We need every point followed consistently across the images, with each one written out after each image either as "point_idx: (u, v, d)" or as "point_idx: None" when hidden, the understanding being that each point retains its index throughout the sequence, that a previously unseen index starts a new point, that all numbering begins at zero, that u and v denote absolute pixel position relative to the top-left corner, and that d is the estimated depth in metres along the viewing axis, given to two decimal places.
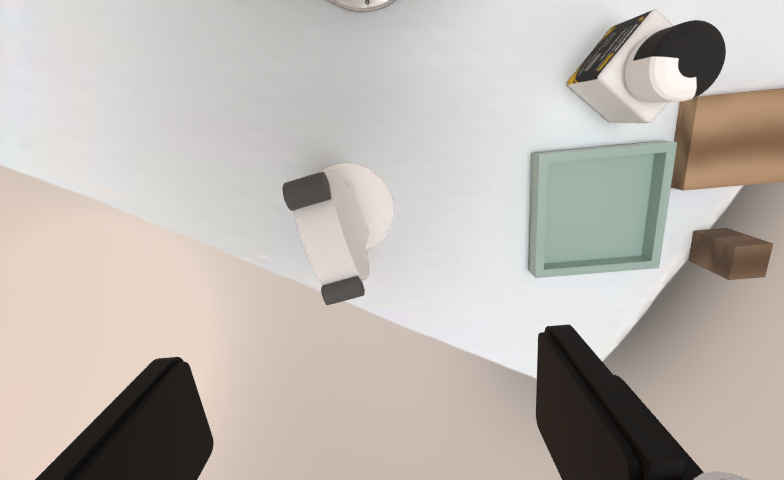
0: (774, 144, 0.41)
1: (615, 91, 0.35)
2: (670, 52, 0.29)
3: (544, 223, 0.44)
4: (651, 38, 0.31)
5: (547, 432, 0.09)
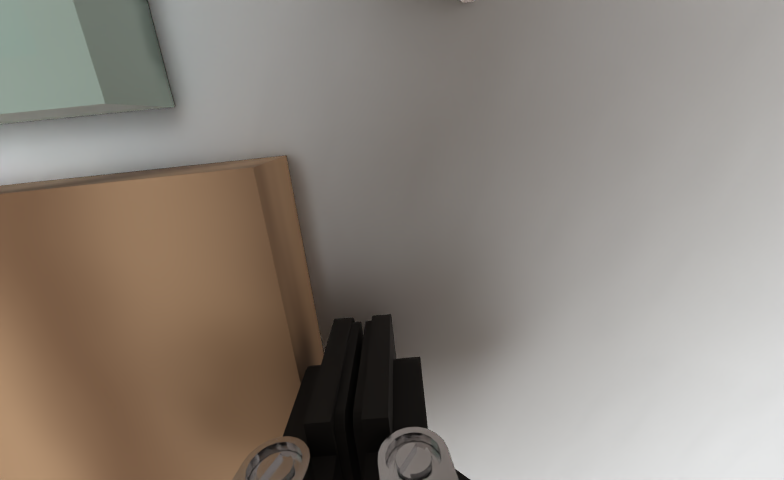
0: None
1: None
2: None
3: None
4: None
5: None
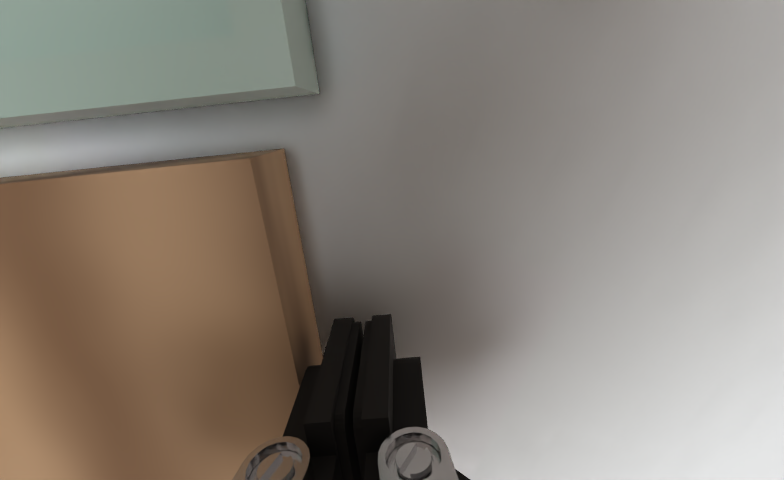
0: None
1: None
2: None
3: None
4: None
5: None
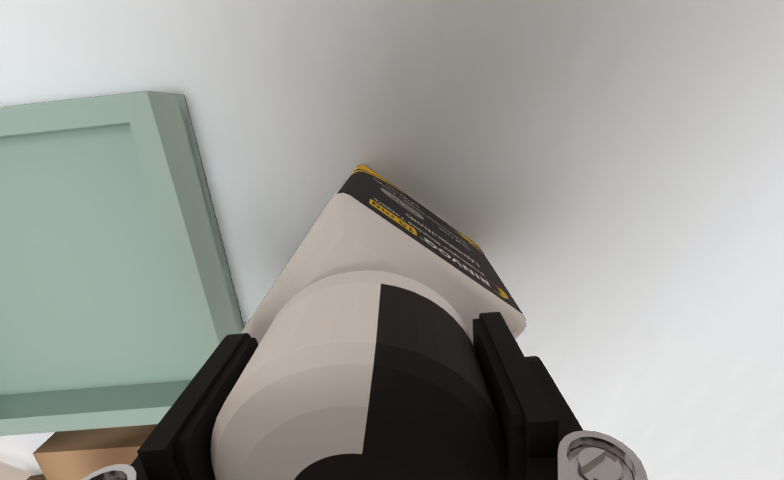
0: None
1: (300, 254, 0.11)
2: (390, 417, 0.06)
3: None
4: (451, 328, 0.09)
5: None
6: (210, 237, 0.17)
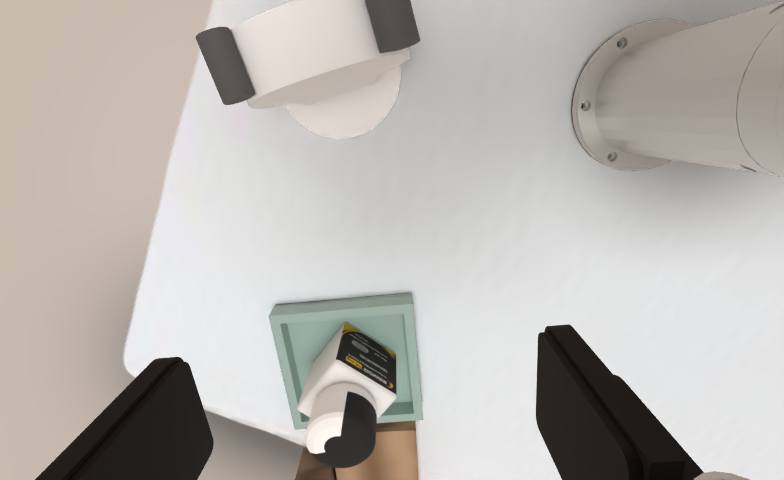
0: None
1: (324, 377, 0.35)
2: (346, 428, 0.30)
3: (336, 317, 0.38)
4: (365, 404, 0.33)
5: (547, 432, 0.09)
6: None
